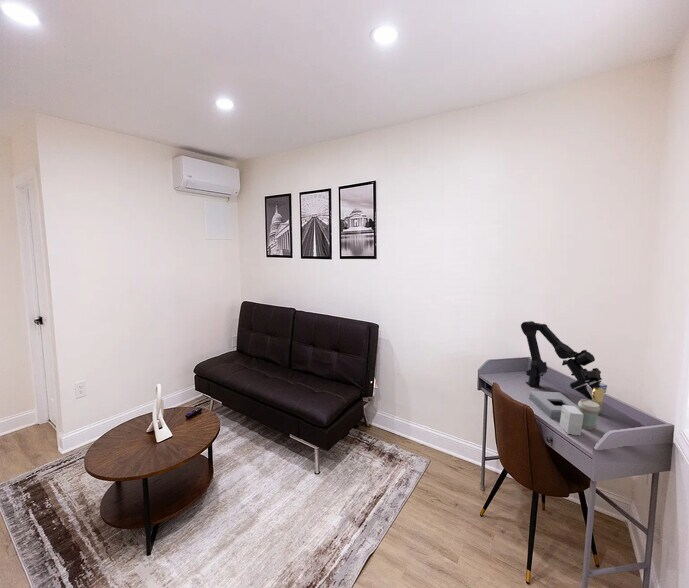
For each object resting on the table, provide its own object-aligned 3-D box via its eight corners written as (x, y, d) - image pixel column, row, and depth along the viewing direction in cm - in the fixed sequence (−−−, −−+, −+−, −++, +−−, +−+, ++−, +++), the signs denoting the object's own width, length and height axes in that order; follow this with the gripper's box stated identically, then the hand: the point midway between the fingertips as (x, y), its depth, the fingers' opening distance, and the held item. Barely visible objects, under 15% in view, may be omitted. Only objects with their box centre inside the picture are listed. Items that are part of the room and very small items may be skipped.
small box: (580, 436, 146) (584, 414, 144) (566, 434, 147) (570, 413, 145) (572, 426, 153) (575, 405, 152) (559, 424, 155) (562, 404, 153)
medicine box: (584, 394, 187) (587, 380, 186) (589, 393, 189) (592, 379, 187) (600, 400, 180) (602, 386, 179) (604, 399, 182) (607, 384, 180)
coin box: (529, 398, 180) (530, 391, 179) (558, 399, 179) (559, 392, 179) (550, 418, 160) (551, 409, 159) (583, 419, 160) (584, 411, 159)
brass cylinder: (586, 409, 170) (589, 386, 168) (595, 410, 170) (599, 386, 167) (592, 414, 165) (597, 390, 163) (602, 415, 165) (607, 391, 162)
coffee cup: (587, 421, 158) (591, 398, 156) (601, 431, 150) (606, 407, 148) (570, 421, 158) (574, 398, 156) (583, 431, 149) (587, 407, 147)
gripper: (579, 365, 164) (600, 395, 156) (600, 360, 172) (621, 389, 164) (561, 374, 172) (580, 403, 164) (582, 369, 180) (601, 396, 172)
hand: (596, 397), depth 166 cm, fingers open, 9 cm apart
